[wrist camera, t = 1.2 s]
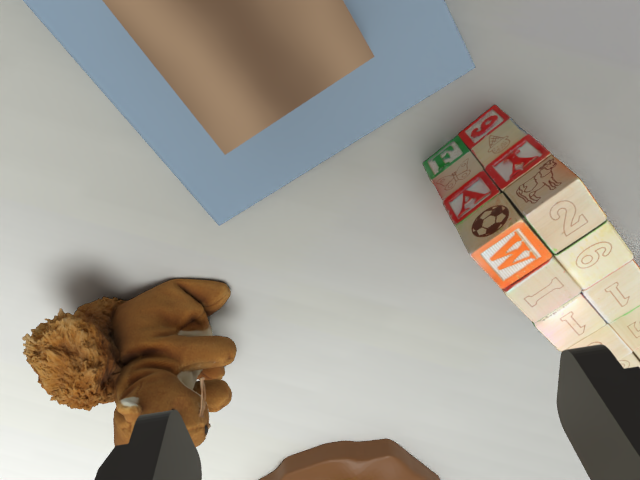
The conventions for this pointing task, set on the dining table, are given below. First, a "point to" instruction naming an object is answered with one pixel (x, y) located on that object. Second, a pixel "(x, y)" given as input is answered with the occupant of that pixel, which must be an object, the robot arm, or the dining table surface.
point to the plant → (353, 463)
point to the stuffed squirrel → (139, 355)
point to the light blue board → (291, 130)
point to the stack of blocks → (540, 236)
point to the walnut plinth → (244, 56)
